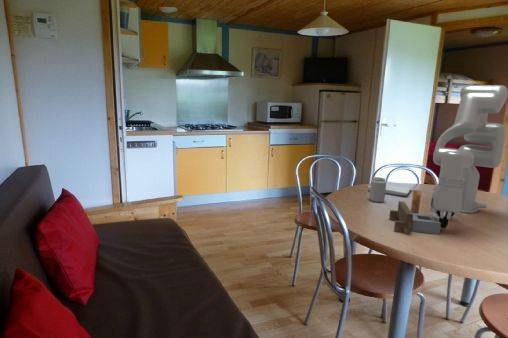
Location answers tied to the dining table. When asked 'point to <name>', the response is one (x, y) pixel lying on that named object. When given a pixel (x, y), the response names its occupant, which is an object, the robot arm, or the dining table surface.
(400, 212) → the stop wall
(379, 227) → the dining table surface
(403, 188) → the salad plate
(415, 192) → the dowel
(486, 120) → the robot arm
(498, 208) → the dining table surface
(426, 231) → the hole block
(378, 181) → the can
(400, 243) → the dining table surface
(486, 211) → the dining table surface
